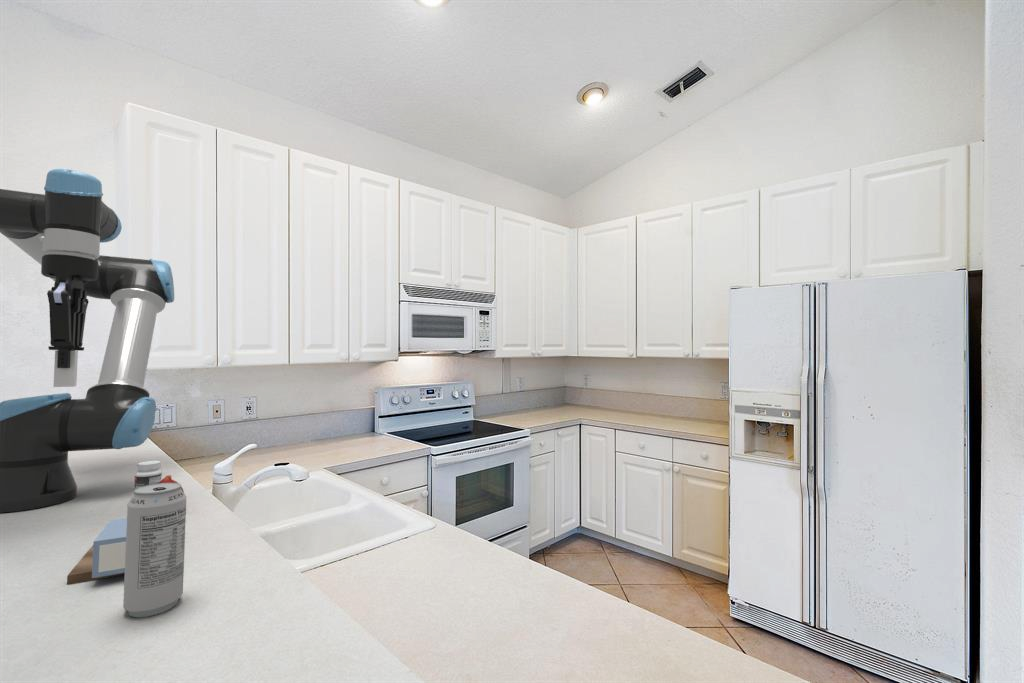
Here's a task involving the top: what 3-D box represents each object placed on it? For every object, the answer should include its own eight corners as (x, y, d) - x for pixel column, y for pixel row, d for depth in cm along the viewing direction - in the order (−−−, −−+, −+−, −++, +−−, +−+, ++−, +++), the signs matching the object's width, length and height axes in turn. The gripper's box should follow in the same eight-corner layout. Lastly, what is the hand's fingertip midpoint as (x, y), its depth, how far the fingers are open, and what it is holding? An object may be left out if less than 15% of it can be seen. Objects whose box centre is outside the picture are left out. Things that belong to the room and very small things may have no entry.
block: (110, 519, 73) (93, 541, 64) (150, 514, 75) (139, 535, 67) (109, 552, 73) (91, 578, 64) (149, 546, 75) (137, 570, 66)
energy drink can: (174, 590, 63) (178, 479, 64) (189, 605, 59) (193, 487, 60) (117, 608, 59) (122, 488, 59) (129, 625, 55) (134, 497, 55)
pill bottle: (128, 502, 102) (129, 463, 102) (150, 496, 106) (152, 459, 106) (143, 504, 100) (145, 465, 101) (165, 498, 105) (167, 461, 105)
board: (95, 548, 77) (95, 541, 77) (176, 536, 82) (177, 529, 82) (66, 584, 65) (67, 575, 65) (164, 567, 70) (165, 559, 70)
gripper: (56, 261, 88) (50, 385, 88) (28, 247, 77) (20, 389, 76) (107, 265, 92) (101, 384, 91) (87, 252, 81) (81, 388, 80)
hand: (65, 386), depth 84 cm, fingers closed
